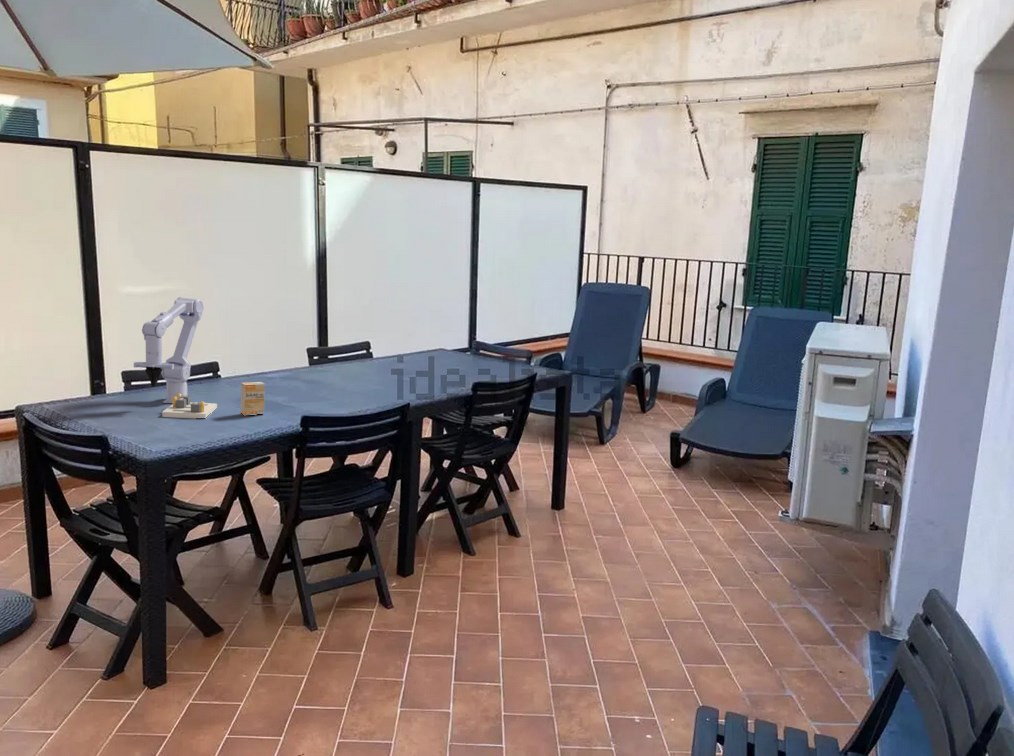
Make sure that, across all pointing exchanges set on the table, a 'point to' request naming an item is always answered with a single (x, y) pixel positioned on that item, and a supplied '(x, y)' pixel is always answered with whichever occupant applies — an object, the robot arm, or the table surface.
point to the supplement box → (252, 398)
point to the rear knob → (186, 399)
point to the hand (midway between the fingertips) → (154, 386)
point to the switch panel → (188, 410)
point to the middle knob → (181, 403)
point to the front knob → (195, 407)
